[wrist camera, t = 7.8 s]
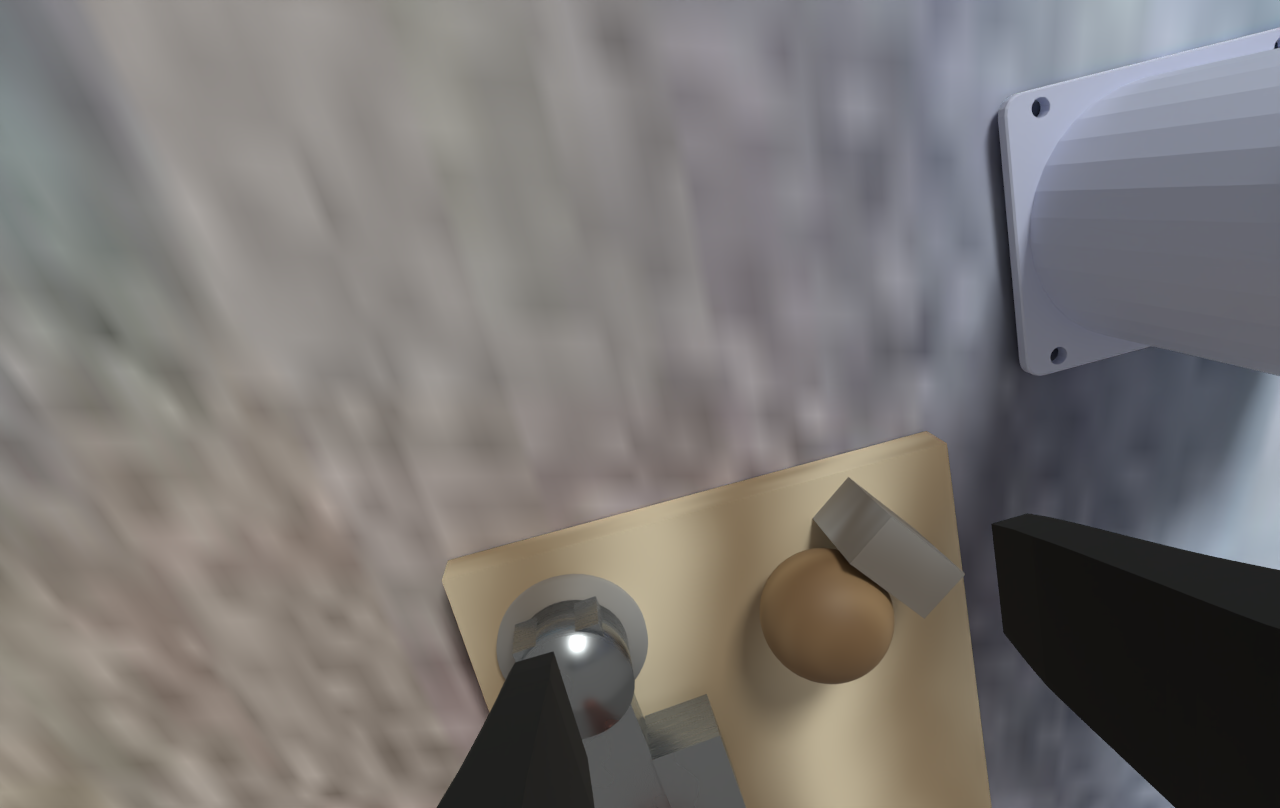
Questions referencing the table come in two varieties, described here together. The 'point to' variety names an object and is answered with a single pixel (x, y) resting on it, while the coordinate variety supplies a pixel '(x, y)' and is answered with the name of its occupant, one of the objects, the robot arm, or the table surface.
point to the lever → (629, 717)
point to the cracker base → (729, 648)
